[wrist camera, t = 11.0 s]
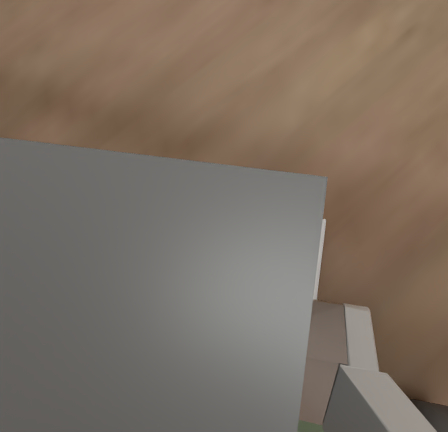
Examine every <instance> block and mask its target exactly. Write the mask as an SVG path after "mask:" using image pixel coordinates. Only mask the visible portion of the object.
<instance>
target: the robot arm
mask: <svg viewBox="0 0 448 432" xmlns="http://www.w3.org/2000/svg"><path fill="white" fill-rule="evenodd" d="M299 420H302V421H306V422H310V423H314V424H319V425H323V426H322V428H323V430H324V432H437V431H436V430H435V429H434V428H433V426H432V425H431V424H430V423H429V422H428V421H427V419H426V418H425V417H424V416H423V415H422V414H421V412H420V411H419V410H418V409H417V408H416V407H415V405H414V404H413V403H412V402H411V401H410V399H409V398H408V397H407V396H406V395H405V394H404V392H403V391H402V390H401V389H400V388H399V387H398V385H397V384H396V383H395V382H394V381H393V379H392V378H391V377H390V376H389V375H388V374H387V373H383V372H379V366H378V360H377V353H376V346H375V340H374V333H373V326H372V319H371V313H370V310H369V308H368V307H364V306H357V305H351V304H344V303H343V304H341V303H335V302H328V301H322V300H316V299H313V304H312V312H311V321H310V329H309V338H308V346H307V354H306V363H305V371H304V379H303V388H302V396H301V405H300V413H299Z"/></svg>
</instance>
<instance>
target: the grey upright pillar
mask: <svg viewBox="0 0 448 432" xmlns="http://www.w3.org/2000/svg"><path fill="white" fill-rule="evenodd" d="M327 178H328V177H323V176H315V175H306V174H298V173H290V172H281V171H273V170H265V169H257V168H248V167H240V166H232V165H224V164H215V163H207V162H199V161H191V160H182V159H174V158H166V157H157V156H149V155H141V154H133V153H124V152H116V151H108V150H100V149H91V148H83V147H75V146H67V145H58V144H50V143H42V142H33V141H25V140H17V139H9V138H0V432H297V430H298V421H299V413H300V405H301V396H302V388H303V379H304V371H305V363H306V354H307V346H308V338H309V329H310V321H311V312H312V304H313V296H314V287H315V279H316V271H317V262H318V254H319V245H320V237H321V229H322V220H323V212H324V203H325V195H326V187H327Z"/></svg>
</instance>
